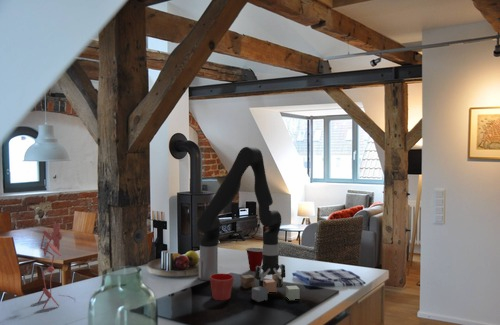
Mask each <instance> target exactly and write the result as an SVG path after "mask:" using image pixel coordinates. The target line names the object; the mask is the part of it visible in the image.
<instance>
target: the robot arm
mask: <svg viewBox="0 0 500 325" xmlns="http://www.w3.org/2000/svg"><path fill="white" fill-rule="evenodd" d="M249 167H251V170H252V171H253V176H254V186H253V187H254V188H253V189H254V195H255V198H256V201H257V204H258V217H259V221H260V223H261V225H262V226H264V227H266V228H267V229H266V230H265V231H264V232H263V235H262V249H263V259H262V265H261V266H256V271H254V273H255V274H254V277H255V279H256V280H258V281H259V282H258V284H259V285H258V287H259V286H262V287H263V280H265V278H266V277H267V276H272V275H274V274H276V275H277V277H278V285H277V287H278V288H280V287H281V286H282V278H283V279H284V278H286V266H285V264H283V263H281V264H279V252H280V251H279V232H280V228H281V224H282V215H281V213H280V212H279V211H278V210H276V209H275V210H270V206H272V205H273V203H274V202H273V201H274V200H273V198H272V194H271V191H270V188H269V184H268V181H267V176H266V169H265V163H264V157H263V153H262V151H261V150H260V148H258V147H252V146H245V147H242V148H241V149H240V151H239V152H238V153H237V155H236V157H235V160H234V162H233V164H232V166H231V168H230V169H229V171H228V173H227V174H226V175H225V178H224V180H222V182H221V184H219V187H218V189H217V191H216V192H215V193H214V196H213V197H212V198H211V200H210V202H209V204H207V207H205V209H204V210H203V212H202V213H201V214H200V216H199V217H198V219H197V222H196V227H197V230H198V231H199V232H200V233H203V236H202V237H201V238H200V239H199V259H198V278H199V280H200V281H210V276H211V275H213V274H219V273H218V264H219V263H218V262H219V261H218V256H219V255H218V254H219V252H218V250H219V248H218V247H219V244H218V243H219V240H220V234H221V233H220V232H221V220H220V218H219V215H220V213H221V212H223V210H225V209H226V208H228V206H229V205H230V204H231V203H232V202H233V201H234V200H235V198H236V196H237V195H238V194H239V191H240V188H241V184H242V177H243V175H244V173H245V172H246V170H247V169H248V168H249ZM279 269H280V272H281V275H280V274H279V273H278V272H279ZM261 270H262V272H261ZM260 272H261V273H260Z"/></svg>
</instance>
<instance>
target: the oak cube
mask: <svg viewBox="0 0 500 325" xmlns="http://www.w3.org/2000/svg"><path fill="white" fill-rule="evenodd" d="M278 273H279V274H280V275H281V271H278ZM271 277H272V278H271V279H273V280H275V281H276V282H277V284H278V277H277V275H276V274H274V275H271ZM282 284H283V285H284V278H282Z"/></svg>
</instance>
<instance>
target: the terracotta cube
mask: <svg viewBox="0 0 500 325" xmlns="http://www.w3.org/2000/svg"><path fill="white" fill-rule="evenodd" d="M263 287H264V288H266V289H268V292H267V294H270V293H269V292H276V293H277V287H278V285H277V282H276V281H275V280H273V279H272V278H271V279H263Z"/></svg>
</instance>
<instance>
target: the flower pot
mask: <svg viewBox="0 0 500 325" xmlns="http://www.w3.org/2000/svg"><path fill="white" fill-rule="evenodd" d="M209 282H210V287H211V294H212V295H211V296H212V299H213V300H214V301H215V300H216V301H228V300H229V299H230V298H231V295H232V289H233V283H234V275H232V274H230V273H218V274H213V275H211V276H210V280H209Z"/></svg>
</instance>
